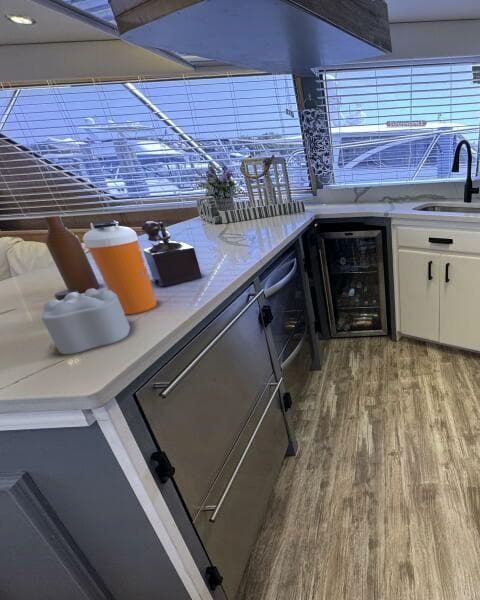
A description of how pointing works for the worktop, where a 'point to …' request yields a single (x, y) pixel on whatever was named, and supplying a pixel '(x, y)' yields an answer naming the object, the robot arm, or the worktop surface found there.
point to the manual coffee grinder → (169, 257)
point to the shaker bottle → (121, 265)
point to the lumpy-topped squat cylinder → (85, 320)
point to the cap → (63, 294)
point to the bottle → (69, 256)
